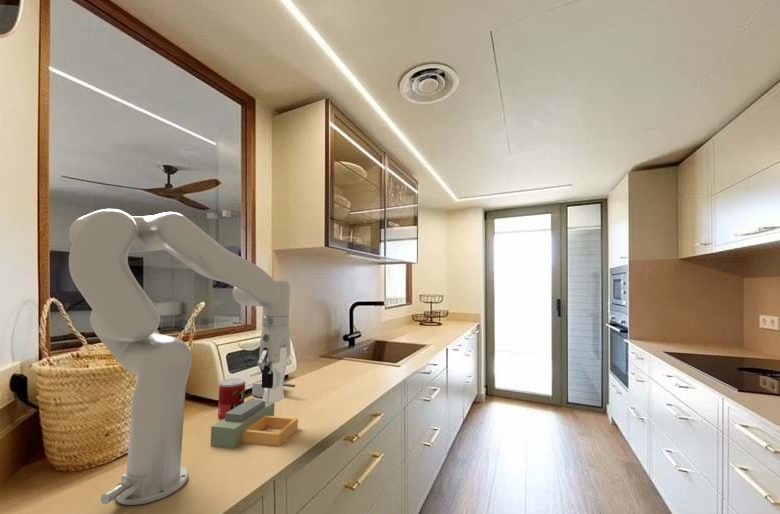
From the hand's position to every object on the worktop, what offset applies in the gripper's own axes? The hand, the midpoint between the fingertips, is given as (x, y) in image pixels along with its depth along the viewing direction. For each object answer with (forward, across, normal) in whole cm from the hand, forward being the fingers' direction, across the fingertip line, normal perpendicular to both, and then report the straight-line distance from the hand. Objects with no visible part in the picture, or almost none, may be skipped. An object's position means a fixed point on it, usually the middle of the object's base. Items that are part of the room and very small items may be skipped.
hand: (273, 383), depth 95 cm
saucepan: (+15, +31, +17) cm, 38 cm away
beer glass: (+5, 0, 0) cm, 5 cm away
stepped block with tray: (+14, +1, +4) cm, 15 cm away
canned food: (+15, +10, +21) cm, 27 cm away
